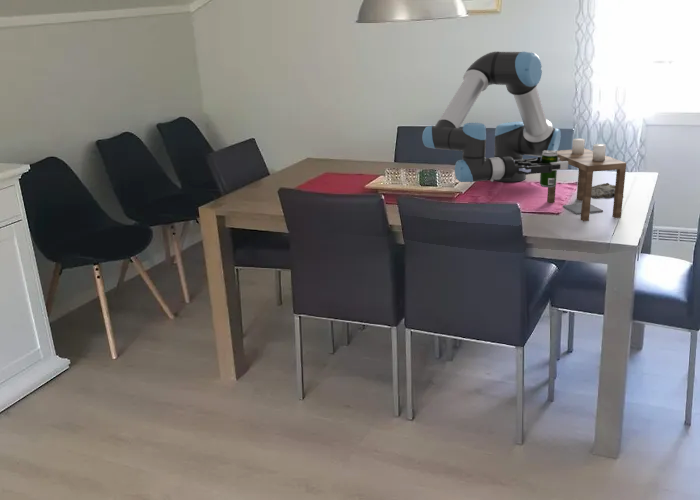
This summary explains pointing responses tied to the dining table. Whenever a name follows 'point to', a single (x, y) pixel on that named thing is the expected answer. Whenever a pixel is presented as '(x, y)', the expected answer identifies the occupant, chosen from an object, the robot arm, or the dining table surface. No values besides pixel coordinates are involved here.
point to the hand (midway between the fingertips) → (563, 163)
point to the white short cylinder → (578, 146)
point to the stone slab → (603, 191)
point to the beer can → (550, 178)
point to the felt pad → (577, 208)
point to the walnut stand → (586, 176)
